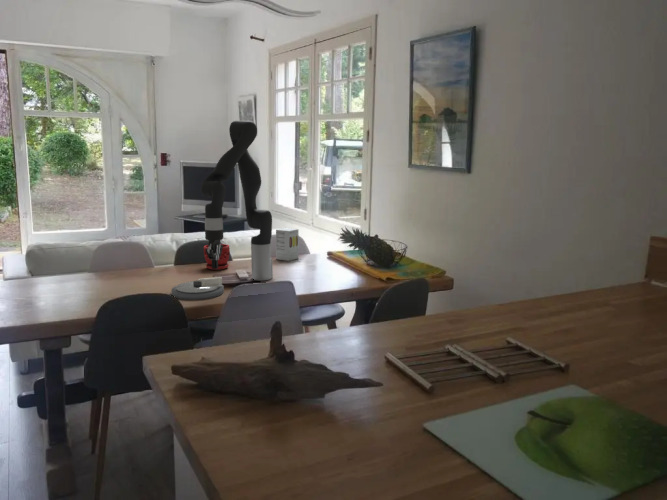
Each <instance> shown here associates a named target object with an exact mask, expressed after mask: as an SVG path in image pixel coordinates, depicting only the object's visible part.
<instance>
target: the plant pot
mask: <svg viewBox="0 0 667 500" xmlns="http://www.w3.org/2000/svg"><path fill="white" fill-rule="evenodd" d="M220 244H221V245H223V249H222V253H221V256H220V257H219V259H218V268H217V269H212V260H211V259H209V258H208V255H207V253H206V249H208V244H206V245H204V246H203V256H204V260H205V262H206V264H205V267H206V268H207V270H208V269H209V270H215V271H216V270H217V271H219V270H225V269H227V268H229V265H230V264H229V263H228V262H229V259H230V251H231V250H230V248H231V247H230V245H229V244H225V243H220Z"/></svg>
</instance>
